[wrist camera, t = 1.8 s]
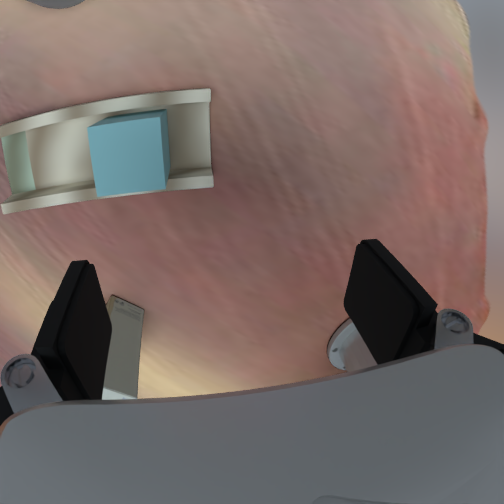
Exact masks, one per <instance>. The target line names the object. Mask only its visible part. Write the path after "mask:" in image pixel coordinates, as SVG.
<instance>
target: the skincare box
mask: <svg viewBox="0 0 504 504" xmlns="http://www.w3.org/2000/svg"><path fill="white" fill-rule="evenodd" d="M106 308H107V311H108V314H109V317H110V320H111V323H112V335H111V341H110V347H109V353H108V359H107V365H106V372H105V379H104V386H103V394H102V400H118V399H137V394H138V376H139V361H140V348H141V337H142V326H143V316H144V310H143V309H141V308H139V307H137V306H135V305H132V304H130V303H128V302H126V301H124V300H121V299H119V298H117V297H115V296H111V297H110V299H109V301H108V302H107V304H106Z"/></svg>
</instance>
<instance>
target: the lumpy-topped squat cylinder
mask: <svg viewBox="0 0 504 504" xmlns="http://www.w3.org/2000/svg"><path fill="white" fill-rule="evenodd" d="M27 1H30V2H32V3H35V4H38V5H40V6H43V7H46V8H55V9H62V8H69V7H72V6H75V5H77V4H79V3H81V2H83V1H84V0H27Z"/></svg>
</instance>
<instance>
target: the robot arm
mask: <svg viewBox="0 0 504 504" xmlns="http://www.w3.org/2000/svg"><path fill="white" fill-rule="evenodd" d="M437 305H438V304H437V303H436V302H435V301H434V300H433V299H432V297H431V296H430V295H429V294H428V293H427V292H426V291H425V290H424V288H423V287H422V286H421V285H420V284H419V283H418V282H417V281H416V280H415V278H414V277H413V276H412V275H411V274H410V273H409V272H408V271H407V270H406V269H405V268H404V267H403V265H402V264H401V263H400V262H399V261H398V260H397V259H396V258H395V257H394V256H393V255H392V254H391V253H390V252H389V251H388V250H387V249H386V248H385V247H384V246H383V244H382V243H381V242H380V241H379V240H377V239H368V240H362V241H361V242H360V244H358V245H357V247H356V251H355V255H354V260H353V264H352V269H351V273H350V277H349V282H348V286H347V290H346V294H345V298H344V308H345V310H346V312H347V314H348V315H349V317H350V319H348V320H347V321H346V322H345V323H343V324H342V325H341V326H340V327H339V328H338V329H337V331H336V332H335V333H334V335H333V336H332V338H331V340H330V342H329V345H328V348H327V354H328V358H329V360H330V362H331V364H332V365H333V366H334V367H336V368H338V369H342V370H346V371H347V372H346V373H341V374H336V375H332V376H327V377H322V378H317V379H312V380H307V381H301V382H296V383H290V384H284V385H278V386H271V387H265V388H258V389H250V390H243V391H235V392H226V393H217V394H207V395H196V396H183V397H168V398H146V399H118V400H102V394H103V386H104V379H105V372H106V365H107V359H108V353H109V347H110V341H111V335H112V323H111V320H110V317H109V314H108V311H107V308H106V304H105V301H104V298H103V294H102V291H101V288H100V284H99V281H98V277H97V273H96V270H95V266H94V265H93V264H89V262H88V260H80V261H72V262H71V263H70V265H69V268H68V270H67V272H66V274H65V276H64V278H63V280H62V283H61V285H60V287H59V289H58V291H57V294H56V296H55V298H54V300H53V301H52V302H51V304H50V306H49V309H48V311H47V314H46V316H45V318H44V321H43V323H42V326H41V328H40V331H39V334H38V336H37V339H36V342H35V344H34V347H33V350H32V353H31V355H30V354H21V355H18V356H15V357H13V358H12V359H10V360H9V361H8V362H7V363H6V364H5V366H4V367H3V369H2V372H1V377H0V379H1V384H2V386H1V387H0V504H504V344H501V343H498V342H496V341H493V340H490V339H488V338H485V337H483V336H480V335H477V334H475V333H473V326H472V323H471V321H470V320H469V318H468V317H467V316H466V315H464V314H463V313H461V312H459V311H457V310H454V309H443V310H441V311H440V312H439V313H437V312H436V311H435V309H436V307H437Z"/></svg>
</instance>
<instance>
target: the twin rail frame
mask: <svg viewBox="0 0 504 504" xmlns="http://www.w3.org/2000/svg"><path fill="white" fill-rule="evenodd" d="M209 102H211V89H210V88H199V89H184V90H172V91H162V92H153V93H145V94H137V95H130V96H123V97H116V98H110V99H105V100H99V101H94V102H88V103H83V104H79V105H74V106H69V107H65V108H61V109H56V110H52V111H48V112H44V113H41V114H37V115H33V116H30V117H26V118H23V119H19V120H16V121H13V122H9V123H6V124H3V125H1V126H0V138H1V140H2V146H3V152H4V158H5V163H6V168H7V173H8V178H9V182H10V187H11V191H12V195H11V196H10V197H9V198H8V199H6V200H5V201H4V202H3V203H2V204H1V207H2V211H3V214H8V213H13V212H19V211H24V210H30V209H36V208H42V207H48V206H54V205H60V204H67V203H74V202H80V201H88V200H95V199H102V198H110V197H118V196H127V195H135V194H144V193H154V192H164V191H174V190H185V189H197V188H210V187H214V185H213V173H212V169H211V150H210V117H209ZM161 109H167V122H168V138H169V153H170V165H171V166H170V171H169V176H168V181H167V186H166V189H162V190H152V191H142V192H134V193H125V194H117V195H109V196H101V197H97V192H96V187H95V181H94V175H93V168H92V162H91V155H90V147H89V139H88V131H87V127H89V126H91V125H93V124H95V123H97V122H99V121H101V120H102V119H104V118H106V117H108V116H115V115H121V114H128V113H135V112H143V111H152V110H161Z"/></svg>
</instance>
